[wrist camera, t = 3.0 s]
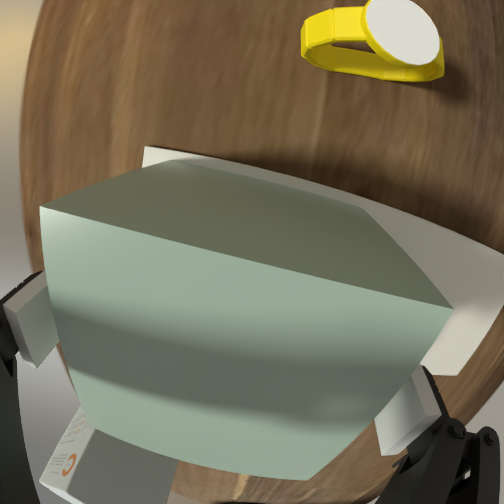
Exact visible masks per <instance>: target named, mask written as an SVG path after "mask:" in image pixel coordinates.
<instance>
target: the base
mask: <svg viewBox="0 0 504 504" xmlns="http://www.w3.org/2000/svg"><path fill="white" fill-rule="evenodd" d="M168 160H172V161H178V162H183V163H188V164H193V165H199V166H203V167H208V168H213V169H218V170H222V171H227V172H232V173H236V174H240V175H245V176H249V177H253V178H257V179H261V180H265V181H269V182H273V183H277V184H281V185H285V186H289V187H293V188H296V189H300V190H304V191H307V192H311V193H314V194H318V195H321V196H325V197H328V198H332V199H335V200H338V201H342V202H345V203H348V204H351V205H355V206H358V207H361V208H363V209H364V210H365V211H366V212H367V213H368V214H369V215H370V216H371V217H372V218H373V219H374V220H375V221H376V222H377V223H378V224H379V225H380V226H381V227H382V228H383V229H384V230H385V231H386V232H387V233H388V234H389V235H390V236H391V237H392V238H393V239H394V240H395V241H396V243H397V244H398V245H399V246H400V247H401V248H402V249H403V250H404V251H405V252H406V253H407V254H408V255H409V257H410V258H411V259H412V260H413V261H414V262H415V263H416V264H417V265H418V267H419V268H420V269H421V270H422V271H423V272H424V273H425V275H426V276H427V277H428V278H429V279H430V280H431V282H432V283H433V284H434V285H435V286H436V288H437V289H438V290H439V291H440V292H441V294H442V295H443V296H444V297H445V299H446V300H447V301H448V302H449V304H450V305H451V306H452V307H453V309H454V310H453V312H452V314H451V316H450V317H449V319H448V321H447V322H446V324H445V326H444V327H443V329H442V331H441V332H440V334H439V335H438V337H437V338H436V340H435V341H434V343H433V345H432V346H431V348H430V349H429V350H428V352H427V353H426V355H425V356H424V358H423V359H422V361H421V362H420V364H421V365H423V366H425V367H426V368H427V369H428V371H429V372H430V373H431V374H432V375H457V374H458V373H459V372H460V370H461V369H462V368H463V367H464V365H465V364H466V363H467V361H468V360H469V358H470V357H471V356H472V354H473V353H474V351H475V350H476V349H477V347H478V346H479V344H480V343H481V341H482V340H483V338H484V337H485V335H486V333H487V332H488V330H489V329H490V327H491V325H492V324H493V322H494V321H495V319H496V317H497V315H498V314H499V312H500V310H501V308H502V307H503V305H504V254H502V253H500V252H498V251H496V250H494V249H492V248H490V247H487V246H485V245H483V244H481V243H479V242H477V241H474V240H472V239H470V238H468V237H466V236H463V235H461V234H459V233H456V232H454V231H452V230H449V229H447V228H445V227H442V226H440V225H437V224H435V223H432V222H430V221H427V220H425V219H422V218H420V217H417V216H414V215H412V214H409V213H406V212H404V211H401V210H398V209H396V208H393V207H390V206H387V205H384V204H381V203H379V202H376V201H373V200H370V199H367V198H364V197H361V196H358V195H355V194H351V193H348V192H345V191H342V190H339V189H335V188H332V187H329V186H325V185H322V184H319V183H315V182H312V181H308V180H305V179H301V178H297V177H294V176H290V175H286V174H282V173H278V172H274V171H270V170H266V169H262V168H258V167H254V166H250V165H245V164H241V163H237V162H232V161H227V160H223V159H218V158H213V157H208V156H203V155H198V154H192V153H187V152H181V151H176V150H170V149H164V148H157V147H151V146H145V151H144V157H143V164H142V168H144V167H147V166H150V165H154V164H157V163H161V162H164V161H168Z"/></svg>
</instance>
